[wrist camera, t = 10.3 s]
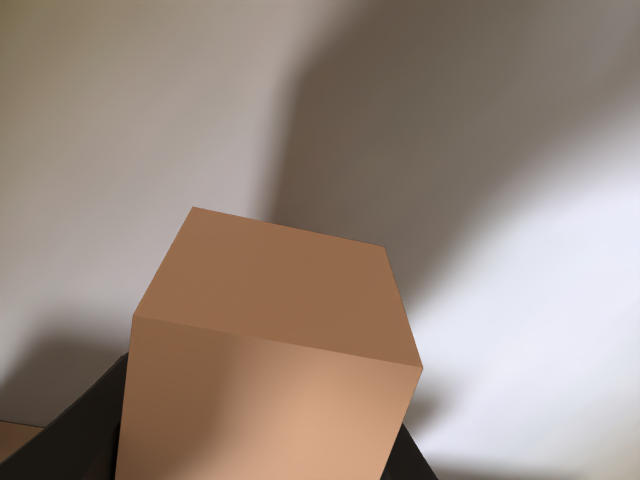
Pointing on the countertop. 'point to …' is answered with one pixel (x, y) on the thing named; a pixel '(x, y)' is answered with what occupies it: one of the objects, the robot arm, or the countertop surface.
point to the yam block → (266, 358)
